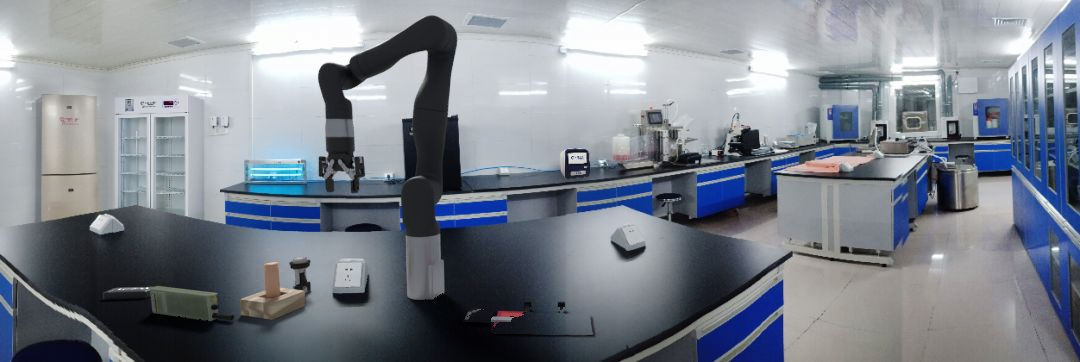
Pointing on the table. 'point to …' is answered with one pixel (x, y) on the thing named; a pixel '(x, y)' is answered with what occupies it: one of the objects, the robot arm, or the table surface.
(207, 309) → the handheld radio
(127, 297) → the multiport hub
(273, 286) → the peg
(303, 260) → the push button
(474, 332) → the table surface
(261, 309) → the socket block
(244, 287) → the table surface
